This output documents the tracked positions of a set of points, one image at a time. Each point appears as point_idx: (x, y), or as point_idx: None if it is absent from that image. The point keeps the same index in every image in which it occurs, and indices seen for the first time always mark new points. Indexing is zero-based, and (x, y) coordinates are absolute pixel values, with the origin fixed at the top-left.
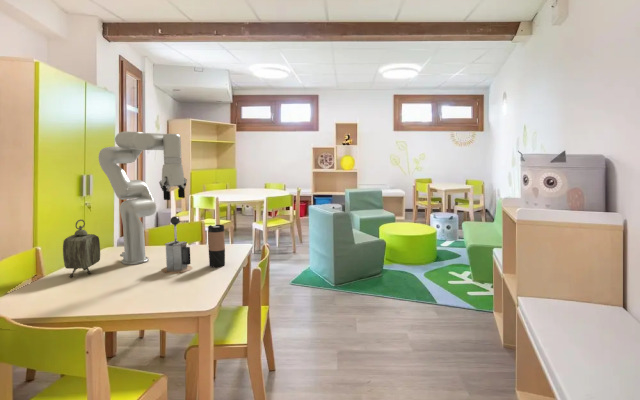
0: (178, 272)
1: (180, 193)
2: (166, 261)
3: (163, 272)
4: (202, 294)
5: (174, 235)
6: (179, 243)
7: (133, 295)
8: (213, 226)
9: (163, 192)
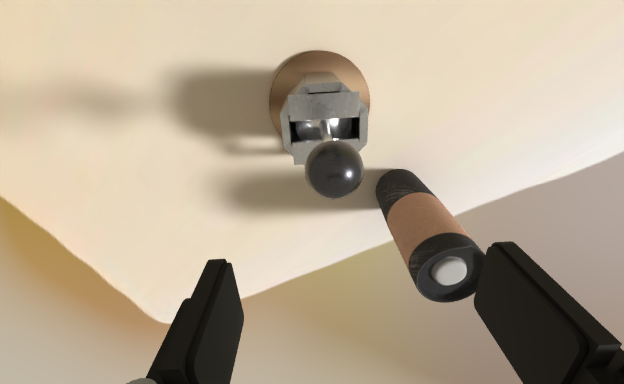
0: None
1: (513, 316)
2: (299, 82)
3: (270, 94)
4: None
5: (322, 137)
6: None
7: (105, 166)
8: (471, 249)
9: (171, 343)
